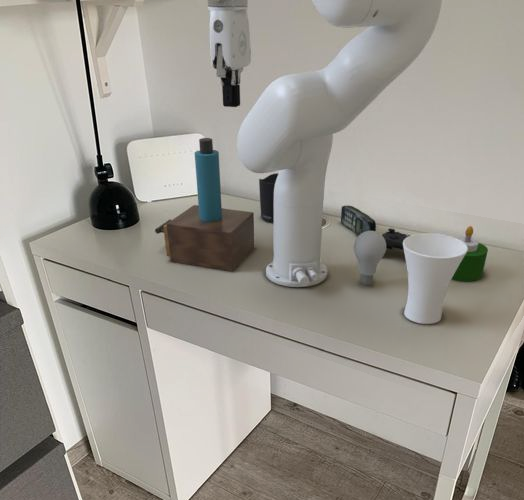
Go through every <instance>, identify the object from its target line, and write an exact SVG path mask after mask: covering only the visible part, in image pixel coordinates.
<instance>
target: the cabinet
mask: <svg viewBox="0 0 524 500" xmlns="http://www.w3.org/2000/svg"><path fill="white" fill-rule="evenodd" d="M254 213H255V212H254V211H246V210H238V209H230V208H223V207H222V219H220V220H218V221H213V222H206V221H202V220H200V218H199V205H197V204H193V205H191V206H190V207H189V208H188V209H186V210H185V211H183V212H182V213H180V214H179V215H177V216H176V217H174V218H172V219H170V220H171V221H170V222H168V223H167V233H168V242H169V251H170V256H169V258H170V260H169V261H170V262H171V263H177V264H181V265H188V266H189V265H190V266H195V267H202V268H208V269H212V270H213V269H215V270H221V271H225V272H233V271H235V269H236V268H237V267H238V266H239V265H240V264H241V263H242V262H243V261H244V260H245V259H246V258H247V257H248V256H249V255H250V254H251V253H252V252H253V251H254V250H255V215H254Z"/></svg>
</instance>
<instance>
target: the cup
mask: <svg viewBox="0 0 524 500" xmlns="http://www.w3.org/2000/svg"><path fill="white" fill-rule="evenodd" d="M410 235H411V236H409V237H407V238H405V239H404V240H403V248H404V250H403V252H404V258H405V264H406V270H407V277H408V278H407V281H408V283H407V284H408V289H407V300H406V304H405V307H404V311H403V314H404V317H406V319H408V320H409V321H411V322H413V323H417V324H423V325H430V324H431V325H432V324H436V323H439V321H440V320H442V315H443V314H442V313H443V303H444V301H445V297H446V293H447V291H448V288H449V286H450V283H451V281H452V280H453V279H452V277H453V275H454V273H455V272H456V270H457V268H458V266H459V264H460V263H461V261H462V259H463V258H464V256H465V254H466V253H467V251H468V247H467V245H466V244H465V243H464V242H463V241H461V240H459V239H458V237H455V236H451V235H448V234H442V233H434V232H423V233H414V234H410Z"/></svg>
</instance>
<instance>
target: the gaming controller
mask: <svg viewBox="0 0 524 500" xmlns="http://www.w3.org/2000/svg"><path fill="white" fill-rule="evenodd" d="M381 235H382V236H383V237H384V239H385V241H386V250H393V249H396V250H400V251H404V248H403V240H404V239H405V238H407V237H409V236H411V235H412V234H406V233H402V232H400V231H396V229H395V228H388V229H387V231H386V232H385V233H383V234H381Z"/></svg>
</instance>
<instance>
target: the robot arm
mask: <svg viewBox="0 0 524 500" xmlns="http://www.w3.org/2000/svg"><path fill="white" fill-rule="evenodd" d="M311 2H312V3H313V5H314V7H315V9H316V11H317V12H318V14H320V16H321V18H323V19H324V20H325V22H326V23H328V24H329V25H331V26H333V27H336V28H342V29H353V28H365V29H364V30H363V31H362V32H360V33H358V34H357V35H356V36H355V37H353V38H351V40H349V41H348V42H347V43H346V44H345V45H344V46H343V47H342V48H341V49H340V51H339V52H338V53H337V55H336V56H335V57H334V58H333V59H332V61H331V62H330V63H329V64H327V65H326V66H325V67H323V68H321V69H318V70H312V71H305V72H297V73H296V72H295V73H290V74H289V73H288V74H285V75H282V76H280V77H278V78H276V79H275V80H273V81H272V82H271V83H270V84H268V86H266V88H265V89H264V91H263V92H262V93H261V95H260V96H259V97H258V99H257V101H256V102H255V103H254V105H253V106H252V107H251V108H250V110H249V111H248V113H247V114H246V116H245V117H244V119H243V121H242V123H241V125H240V127H239V129H238V133H237V138H236V151H237V155H238V158H239V161H240V163H241V164H242V166H244V168H245V169H247V170H248V171H250V172H252V173H255V174H268V173H275V172H278V173H279V174H278V176H277V179H276V182H275V187H274V223H273V261H271V262H270V263H269V264H267V266H266V267H265V275H266V278H267V279H268V280H270V281H271V282H272V283H274V284H276V285H279V286H284V287H290V288H306V287H312V286H315V285H318V284H320V283H321V282H324V281H325V280H326V278H327V277H328V267H327V265H325V264H324V263H323V262H322V261H321V254H322V238H323V237H322V236H323V217H324V201H325V185H326V176H327V175H326V174H327V170H328V169H327V168H328V163H329V160H330V156H331V152H332V147H333V140H334V134H337V133H340V132H342V131H343V130H344V129H346V128H347V127H348V126H349V125H350V124H351V123H353V121H355V119H356V118H357V117H359V115H361V113H362V112H364V110H366V108H367V107H369V105H371V104H372V102H374V101H375V100H376V99H377V97H379V95H380V94H381V93H382V92H384V90H385V89H387V87H389V86H390V85H391V84H392V83H393V82H394V81H395V80H396V79H397V78H398V77H399V76H401V75H402V74H403V72H405V71H406V70H407V69H408V68H409V67H410V66H411V65H412V64H413V63H414V61H415V60H416V59H417V58H418V57H419V56H420V54H421V53H422V52H423V51H424V49H425V47H426V46H427V44H428V43H429V41H430V39H431V38H432V36H433V34H434V31H435V28H436V25H437V23H438V20H439V16H440V12H441V8H442V2H443V0H311ZM207 10H208V11H209V55H210V64H211V67H212V68H213V69H214V70H216V72H215V73H216V74H215V75H216V77H217V78H220V85H221V89H222V105H223V106H222V107H225V108H227V107H229V108H237V107H240V106H241V76H242V74H241V73H242V72H243V71H244V68H246V67H249V65H250V64H251V63H252V52H251V51H252V50H251V33H250V24H249V23H250V21H249V15H248V10H249V4H248V0H207Z"/></svg>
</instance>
